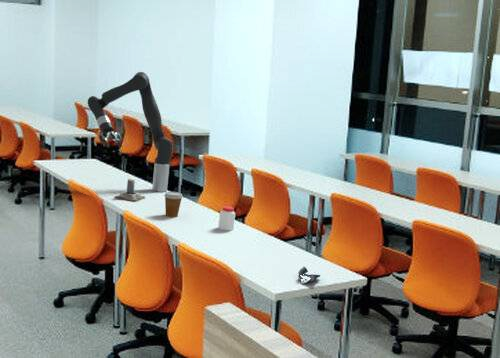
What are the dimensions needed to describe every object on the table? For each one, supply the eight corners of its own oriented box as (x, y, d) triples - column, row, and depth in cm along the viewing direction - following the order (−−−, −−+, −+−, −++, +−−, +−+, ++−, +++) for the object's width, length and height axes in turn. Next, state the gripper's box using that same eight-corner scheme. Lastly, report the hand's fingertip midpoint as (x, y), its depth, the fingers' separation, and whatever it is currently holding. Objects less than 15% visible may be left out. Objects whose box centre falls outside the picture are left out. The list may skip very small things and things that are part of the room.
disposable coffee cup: (159, 215, 338) (161, 192, 336) (168, 212, 347) (170, 190, 345) (175, 218, 335) (177, 196, 333) (183, 215, 344) (186, 193, 342)
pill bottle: (222, 230, 321) (224, 209, 320) (215, 226, 328) (218, 205, 326) (236, 230, 325) (238, 209, 323) (229, 226, 332) (231, 205, 330)
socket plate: (123, 194, 379) (124, 189, 379) (144, 198, 377) (145, 193, 376) (114, 198, 367) (114, 193, 366) (135, 201, 364) (136, 196, 364)
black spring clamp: (285, 279, 257) (308, 287, 249) (289, 263, 257) (312, 270, 249) (304, 279, 266) (326, 287, 258) (307, 264, 266) (330, 271, 258)
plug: (128, 195, 374) (129, 178, 372) (134, 196, 373) (135, 179, 372) (125, 196, 370) (126, 179, 369) (131, 197, 369) (133, 180, 368)
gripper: (97, 120, 379) (107, 143, 373) (117, 121, 389) (127, 143, 384) (91, 128, 383) (101, 151, 377) (112, 129, 394) (121, 150, 388)
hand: (114, 147), depth 380 cm, fingers open, 8 cm apart
